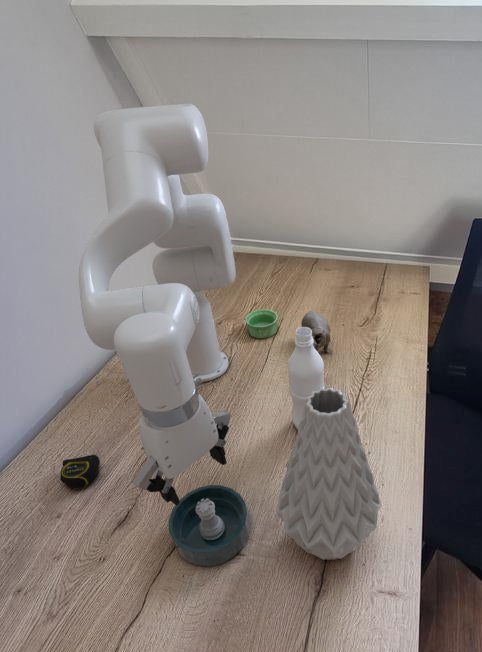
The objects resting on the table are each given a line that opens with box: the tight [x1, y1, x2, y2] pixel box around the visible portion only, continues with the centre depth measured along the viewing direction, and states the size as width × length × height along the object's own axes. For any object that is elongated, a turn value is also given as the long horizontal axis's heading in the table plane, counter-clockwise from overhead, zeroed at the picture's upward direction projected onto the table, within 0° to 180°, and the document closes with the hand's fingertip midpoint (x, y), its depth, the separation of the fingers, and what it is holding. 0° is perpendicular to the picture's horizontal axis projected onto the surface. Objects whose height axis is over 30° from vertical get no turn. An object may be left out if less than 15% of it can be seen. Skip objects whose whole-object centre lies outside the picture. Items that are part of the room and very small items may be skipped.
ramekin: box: [244, 308, 279, 339], centre depth 127 cm, size 9×9×4 cm
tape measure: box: [59, 454, 101, 490], centre depth 91 cm, size 7×7×4 cm
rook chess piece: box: [196, 498, 225, 540], centre depth 79 cm, size 4×4×8 cm
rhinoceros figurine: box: [300, 310, 331, 354], centre depth 118 cm, size 8×14×15 cm
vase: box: [276, 386, 382, 561], centre depth 69 cm, size 17×17×33 cm
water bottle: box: [287, 326, 325, 430], centre depth 91 cm, size 7×7×25 cm
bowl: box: [168, 484, 251, 567], centre depth 80 cm, size 13×13×5 cm
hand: (196, 479), depth 72 cm, fingers open, 9 cm apart
